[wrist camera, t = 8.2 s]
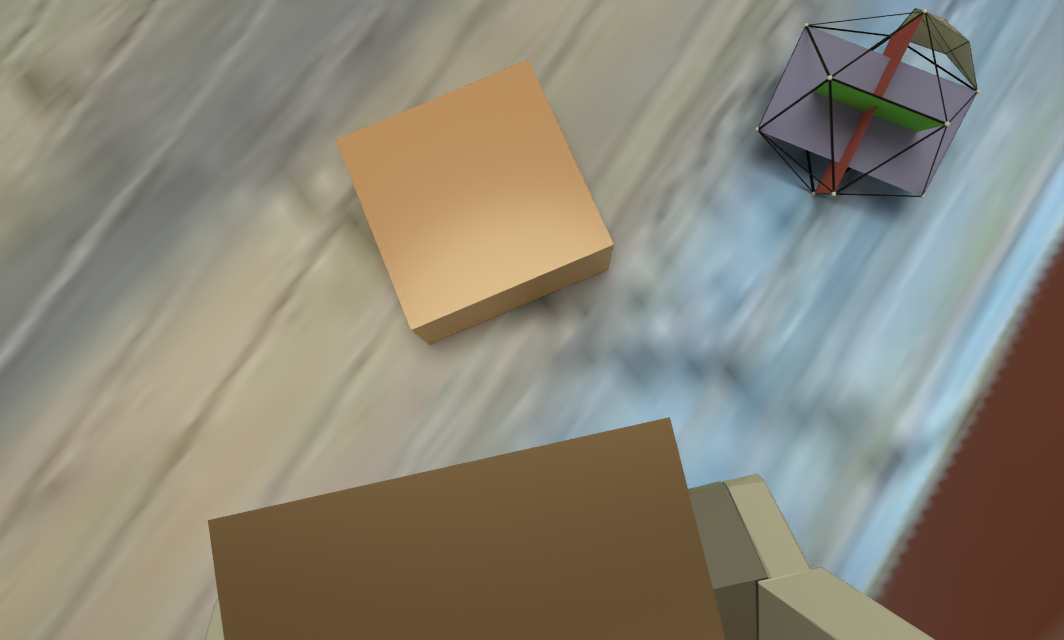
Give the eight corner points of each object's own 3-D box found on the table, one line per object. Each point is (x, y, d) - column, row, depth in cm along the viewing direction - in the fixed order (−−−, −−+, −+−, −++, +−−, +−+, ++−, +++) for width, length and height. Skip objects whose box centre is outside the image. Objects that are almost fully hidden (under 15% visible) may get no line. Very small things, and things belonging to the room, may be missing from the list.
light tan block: (607, 270, 31) (613, 244, 27) (430, 345, 31) (411, 329, 27) (532, 107, 33) (528, 59, 29) (363, 177, 33) (335, 139, 29)
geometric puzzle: (890, 277, 28) (1036, 88, 23) (720, 206, 29) (822, 6, 24) (893, 185, 34) (1014, 12, 28) (749, 126, 34) (838, -54, 29)
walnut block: (656, 632, 15) (785, 878, 6) (440, 680, 15) (271, 991, 6) (610, 437, 16) (669, 416, 7) (404, 483, 16) (208, 519, 7)
